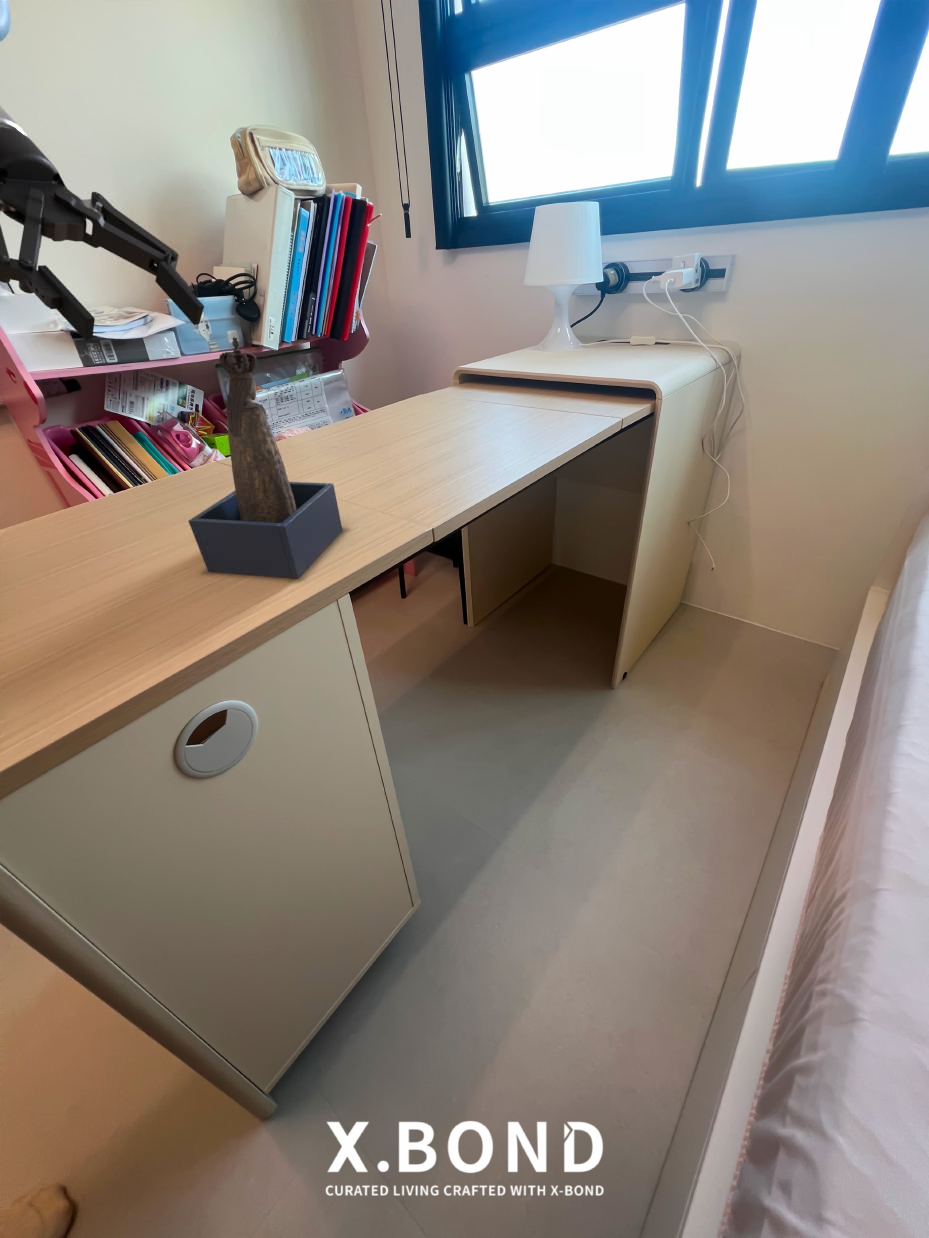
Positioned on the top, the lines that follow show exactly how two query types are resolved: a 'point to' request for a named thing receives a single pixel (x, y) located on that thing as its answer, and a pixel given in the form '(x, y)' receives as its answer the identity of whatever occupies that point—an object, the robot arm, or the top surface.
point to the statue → (254, 447)
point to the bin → (269, 534)
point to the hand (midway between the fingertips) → (149, 322)
